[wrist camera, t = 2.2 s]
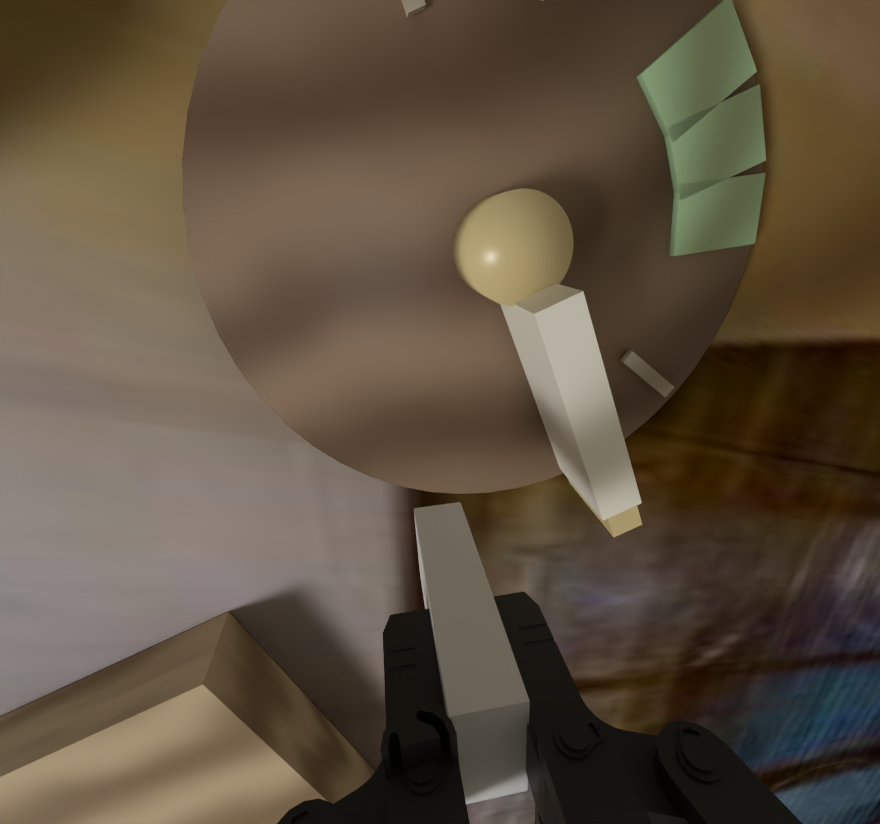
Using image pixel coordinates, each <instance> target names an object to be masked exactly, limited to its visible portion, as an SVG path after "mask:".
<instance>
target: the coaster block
mask: <svg viewBox="0 0 880 824" xmlns="http://www.w3.org/2000/svg"><path fill="white" fill-rule="evenodd" d="M374 773H375V771H374V769H373V768H372V767H371V766H370V765H369V764H368V763H367V762H366V761H365V760H364V759H363V758H362V756H361V755H360V754H359V753H358V752H357V751H356V750H355V749H354V748H353V747H352V746H351V744H350V743H349V742H348V741H347V740H346V739H345V738H344V737H343V736H342V735H341V734H340V732H339V731H338V730H337V729H336V728H335V727H334V726H333V725H332V724H331V723H330V722H329V720H328V719H327V718H326V717H325V716H324V715H323V714H322V713H321V712H320V711H319V710H318V708H317V707H316V706H315V705H314V704H313V703H312V702H311V701H310V700H309V699H308V698H307V697H306V695H305V694H304V693H303V692H302V691H301V690H300V689H299V688H298V687H297V686H296V685H295V683H294V682H293V681H292V680H291V679H290V678H289V677H288V676H287V675H286V674H285V673H284V671H283V670H282V669H281V668H280V667H279V666H278V665H277V664H276V663H275V662H274V661H273V659H272V658H271V657H270V656H269V655H268V654H267V653H266V652H265V651H264V650H263V649H262V647H261V646H260V645H259V644H258V643H257V642H256V641H255V640H254V639H253V638H252V637H251V635H250V634H249V633H248V632H247V631H246V630H245V629H244V628H243V627H242V626H241V625H240V624H239V622H238V621H237V620H236V619H235V618H234V617H233V616H232V615H231V614H230V613H229V612H227V613H224V614H222V615H220V616H218V617H216V618H214V619H211V620H209V621H207V622H205V623H203V624H201V625H198V626H196V627H194V628H192V629H190V630H187V631H185V632H183V633H181V634H179V635H177V636H174V637H172V638H170V639H168V640H166V641H164V642H161V643H159V644H157V645H155V646H153V647H151V648H148V649H146V650H144V651H142V652H140V653H137V654H135V655H133V656H131V657H129V658H127V659H124V660H122V661H120V662H118V663H116V664H114V665H111V666H109V667H107V668H105V669H103V670H101V671H98V672H96V673H94V674H92V675H90V676H87V677H85V678H83V679H81V680H79V681H77V682H74V683H72V684H70V685H68V686H66V687H64V688H61V689H59V690H57V691H55V692H53V693H51V694H48V695H46V696H44V697H42V698H40V699H37V700H35V701H33V702H31V703H29V704H27V705H24V706H22V707H20V708H18V709H16V710H14V711H11V712H9V713H7V714H5V715H3V716H1V717H0V824H277V823H278V822H279V821H280V819H281V818H282V817H283V816H284V815H285V814H286V813H287V812H288V810H290V809H292V808H293V807H295V806H296V805H298V804H300V803H301V802H303V801H307V800H313V799H322V800H325V801H328V802H331V803H333V804H334V803H335V802H337V801H338V800H340V799H342V798H343V797H345V796H347V795H348V794H350V793H351V792H353V791H355V790H356V789H358V788H359V787H360V786H362V785H363V784H364V783H365V782H367V781H368V780H369V779H370V777H371V776H372V775H373V774H374Z"/></svg>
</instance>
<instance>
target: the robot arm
mask: <svg viewBox="0 0 880 824" xmlns="http://www.w3.org/2000/svg"><path fill="white" fill-rule="evenodd" d="M414 516H415V526H416V536H417V547H418V557H419V567H420V577H421V584H422V590H423V596H424V603H425V609H423V610H417V611H411V612H405V613H399V614H393V615H390V617H389V620H388V622H387V624H386V627H385V629H384V632H383V650H384V672H385V674H384V676H385V702H386V729H385V731H384V733H383V738H382V744H381V754H382V761H381V763H380V765H379V766H378V768H377V770H376V771H375V773H374V774H373V775H372V776H371V777H370V779H369V780H368V781H367V782H365V783H364V784H363V785H362V786H360V787H359V788H358V789H356V790H355V791H353V792H351V793H350V794H348V795H347V796H345V797H343V798H342V799H340V800H338V801H337V802H335V803H334V804H333V803H331V802H328V801H325V800H322V799H313V800H307V801H303V802H301V803H300V804H298V805H296V806H295V807H293V808H292V809H290V810H288V812H287V813H286V814H285V815H284V816H283V817H282V818H281V819H280V821H279V822H278V823H277V824H469V818H468V813H467V807H466V804H469V803H474V802H478V801H483V800H487V799H492V798H496V797H501V796H505V795H510V794H515V793H519V792H524V791H527V785H528V780H529V784H530V787H531V790H532V794H533V797H534V800H535V804H536V805H535V824H802V823H801V822H800V821H799V820H798V819H797V818H796V817H795V816H794V814H793V813H792V812H791V811H790V810H789V809H788V808H787V807H786V806H785V805H784V804H783V803H782V802H781V801H780V800H779V799H778V798H777V797H776V796H775V795H774V794H773V793H772V792H771V790H770V789H769V788H768V787H767V786H766V785H765V784H764V783H763V782H762V781H761V780H760V779H759V778H758V777H757V776H756V775H755V774H754V773H753V772H752V771H751V770H750V769H749V767H748V766H747V765H746V764H745V763H744V762H743V761H742V760H741V759H740V758H739V757H738V756H737V755H736V754H735V753H734V752H733V751H732V750H731V749H730V748H729V747H728V746H727V745H726V743H725V742H723V741H722V740H721V739H720V738H718V737H717V736H716V735H715V734H714V733H712V732H711V731H710V730H708V729H706V728H704V727H702V726H700V725H697V724H695V723H691V722H685V721H676V722H673V723H669V724H667V725H666V726H665V727H664V728H663V729H662V730H661V731H660V732H659V736H655V735H649V734H643V733H636V732H630V731H625V730H621V729H618V728H614V727H612V726H610V725H608V724H606V723H604V722H603V721H602V720H600V719H599V718H598V717H596V716H595V715H594V714H593V713H592V712H591V711H590V710H589V708H588V707H587V706H586V705H585V703H584V701H583V700H582V698H581V696H580V694H579V692H578V690H577V687H576V685H575V683H574V681H573V679H572V677H571V675H570V672H569V670H568V668H567V666H566V664H565V662H564V659H563V657H562V655H561V653H560V651H559V649H558V646H557V644H556V642H554V638H553V636H552V633H551V631H550V629H549V627H547V623H546V620H545V618H544V616H543V614H542V612H541V610H540V607H539V605H538V604H536V603H535V602H534V601H533V600H532V599H531V598H530V597H529V596H528V595H527V594H526V593H525V592H519V593H513V594H507V595H501V596H495V597H493V594H492V592H491V589H490V586H489V583H488V580H487V577H486V574H485V571H484V569H483V566H482V563H481V560H480V557H479V554H478V551H477V548H476V546H475V543H474V540H473V537H472V534H471V531H470V528H469V526H468V523H467V520H466V517H465V514H464V511H463V508H462V505H461V503H460V502H458V503H451V504H444V505H436V506H429V507H422V508H415V509H414Z"/></svg>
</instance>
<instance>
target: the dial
mask: <svg viewBox="0 0 880 824" xmlns="http://www.w3.org/2000/svg"><path fill="white" fill-rule="evenodd" d="M756 72H757V69H756V66H755V64H754V61H753V58H752V55H751V52H750V49H749V47H748V44H747V41H746V38H745V35H744V33H743V30H742V27H741V24H740V21H739V18H738V16H737V13H736V10H735V7H734V4H733V2H732V0H227V1H226V3H225V5H224V6H223V8H222V10H221V11H220V13H219V16H218V18H217V21H216V23H215V26H214V28H213V31H212V33H211V36H210V38H209V41H208V43H207V45H206V48H205V50H204V53H203V55H202V58H201V60H200V64H199V68H198V72H197V76H196V80H195V84H194V88H193V92H192V96H191V100H190V104H189V108H188V113H187V122H186V132H185V141H184V150H183V159H182V167H183V209H184V215H185V222H186V228H187V235H188V242H189V248H190V254H191V258H192V261H193V265H194V268H195V272H196V275H197V279H198V282H199V286H200V289H201V293H202V296H203V299H204V301H205V303H206V306H207V308H208V310H209V313H210V315H211V318H212V320H213V322H214V325H215V327H216V329H217V332H218V334H219V336H220V338H221V339H222V341H223V343H224V344H225V346H226V348H227V350H228V351H229V353H230V355H231V356H232V358H233V360H234V362H235V363H236V365H237V367H238V369H239V370H240V371H241V373H242V374H243V375H244V377H245V378H246V379H247V380H248V382H249V383H250V384H251V386H252V387H253V388H254V390H255V391H256V392H257V394H258V395H259V396H260V398H261V399H262V400H263V401H264V402H265V403H266V404H267V405H268V406H269V407H270V408H271V409H272V410H273V411H274V412H275V413H276V414H277V415H278V416H279V417H280V418H281V419H282V420H283V421H284V422H285V423H286V424H287V425H288V426H289V427H290V428H292V429H293V430H294V431H295V432H297V433H298V434H299V435H300V436H302V437H303V438H304V439H305V440H307V441H308V442H309V443H310V444H312V445H313V446H314V447H316V448H317V449H319V450H321V451H322V452H324V453H326V454H327V455H329V456H330V457H332V458H334V459H335V460H337V461H339V462H340V463H342V464H344V465H346V466H348V467H351V468H353V469H355V470H357V471H359V472H362V473H364V474H366V475H368V476H370V477H373V478H377V479H380V480H383V481H386V482H389V483H392V484H395V485H398V486H403V487H408V488H413V489H418V490H424V491H429V492H441V493H455V494H466V493H489V492H495V491H501V490H508V489H514V488H519V487H523V486H527V485H530V484H534V483H537V482H541V481H545V480H548V479H550V478H553V477H555V476H558V475H560V474H563V472H562V470H561V469H560V468H559V465H558V462H557V459H556V457H555V454H554V451H553V448H552V446H551V443H550V440H549V437H548V435H547V432H546V429H545V426H544V424H543V421H542V418H541V415H540V413H539V410H538V407H537V404H536V401H535V399H534V396H533V393H532V390H531V388H530V385H529V382H528V379H527V377H526V374H525V371H524V368H523V366H522V363H521V360H520V357H519V355H518V352H517V349H516V346H515V344H514V341H513V338H512V335H511V333H510V330H509V327H508V324H507V321H506V319H505V316H504V313H503V310H502V308H501V305H500V304H499V303H497V302H495V301H493V300H491V299H489V298H487V297H485V296H483V295H482V294H480V293H478V292H476V291H475V290H473V289H472V288H470V287H469V286H468V285H467V284H466V283H465V282H464V281H463V280H462V278H461V277H460V275H459V274H458V271H457V269H456V267H455V264H454V260H453V252H452V244H453V237H454V233H455V230H456V227H457V225H458V223H459V221H460V219H461V217H462V216H463V215H464V213H465V212H466V211H467V210H468V209H469V208H470V207H471V206H472V205H473V204H475V203H476V202H477V201H479V200H481V199H483V198H485V197H488V196H492V195H495V194H499V193H503V192H507V191H510V190H515V189H523V188H525V189H534V190H538V191H541V192H543V193H545V194H547V195H549V196H550V197H552V198H553V199H554V200H556V201H557V202H558V203H559V204H560V206H561V207H562V208H563V210H564V211H565V213H566V214H567V216H568V218H569V221H570V224H571V227H572V232H573V241H574V244H573V254H572V259H571V263H570V266H569V268H568V271H567V273H566V275H565V276H564V278H563V280H562V281H561V283H560V285H563V286H567V287H571V288H574V289H578V290H581V291H583V292H584V295H585V299H586V303H587V306H588V310H589V314H590V317H591V321H592V324H593V328H594V332H595V335H596V339H597V343H598V346H599V350H600V353H601V357H602V361H603V364H604V368H605V372H606V375H607V379H608V383H609V386H610V390H611V393H612V397H613V401H614V404H615V408H616V412H617V415H618V419H619V422H620V426H621V430H622V433H623V437H624V439H626V438H627V437H628V436H629V435H630V434H632V433H633V432H634V431H635V430H637V429H638V428H639V427H640V426H641V425H643V424H644V423H645V422H646V421H647V420H649V419H650V418H651V417H652V416H653V415H654V414H655V413H656V412H657V411H658V410H659V409H660V408H661V407H662V406H663V405H664V404H665V403H666V402H667V401H668V400H669V399H670V398H671V397H672V396H673V394H674V393H675V392H676V391H677V390H678V388H679V387H680V386H681V385H682V383H683V382H684V381H685V380H686V378H687V377H688V376H689V375H690V374H691V372H692V371H693V370H694V368H695V367H696V365H697V364H698V362H699V361H700V359H701V358H702V356H703V355H704V353H705V352H706V350H707V349H708V347H709V346H710V344H711V343H712V341H713V339H714V337H715V335H716V333H717V331H718V329H719V328H720V326H721V324H722V322H723V320H724V318H725V316H726V314H727V312H728V310H729V308H730V305H731V303H732V301H733V298H734V296H735V293H736V291H737V288H738V286H739V283H740V281H741V278H742V275H743V272H744V269H745V265H746V262H747V258H748V255H749V252H750V248H751V245H752V244H755V242H756V235H757V228H758V222H759V215H760V208H761V202H762V195H763V188H764V182H765V175H766V173H762V167H763V162H764V161H766V151H765V139H764V127H763V115H762V103H761V91H760V84H758V85H756V81H755V77H754V73H756Z"/></svg>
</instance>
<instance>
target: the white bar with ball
mask: <svg viewBox="0 0 880 824" xmlns="http://www.w3.org/2000/svg"><path fill="white" fill-rule="evenodd" d="M573 244H574V241H573V232H572V227H571V224H570V221H569V218H568V216H567V214H566V213H565V211H564V210H563V208H562V207H561V206H560V204H559V203H558V202H557V201H556V200H554V199H553V198H552V197H550V196H549V195H547V194H545V193H543V192H541V191H538V190H534V189H525V188H523V189H515V190H510V191H507V192H503V193H499V194H495V195H492V196H488V197H485V198H483V199H481V200H479V201H477V202H476V203H475V204H473V205H472V206H471V207H470V208H469V209H468V210H467V211H466V212H465V213H464V215H463V216H462V217H461V219H460V221H459V223H458V225H457V227H456V230H455V233H454V237H453V244H452V252H453V260H454V264H455V267H456V269H457V271H458V274H459V275H460V277H461V278H462V280H463V281H464V282H465V283H466V284H467V285H468V286H469V287H470V288H472V289H473V290H475V291H476V292H478V293H480V294H482V295H483V296H485V297H487V298H489V299H491V300H493V301H495V302H497V303H499V304H500V305H501V308H502V310H503V313H504V316H505V319H506V321H507V324H508V327H509V330H510V333H511V335H512V338H513V341H514V344H515V346H516V349H517V352H518V355H519V357H520V360H521V363H522V366H523V368H524V371H525V374H526V377H527V379H528V382H529V385H530V388H531V390H532V393H533V396H534V399H535V401H536V404H537V407H538V410H539V413H540V415H541V418H542V421H543V424H544V426H545V429H546V432H547V435H548V437H549V440H550V443H551V446H552V448H553V451H554V454H555V457H556V459H557V462H558V465H559V468H560V469H561V470H562V472H563V473H564V474H565V475H566V477H567V478H568V480H569V483H570V484H571V485H572V487H573V488H574V489H575V490H576V491H577V493H578V494H579V495H580V496H581V498H582V499H583V500H584V501H585V503H586V504H587V505H588V506H589V507H590V509H591V510H592V511H593V512H594V514H595V515H596V516H597V517H598V519H599V520H600V521H601V522H602V524H603V525H604V526H605V527H606V528H607V530H608V531H609V532H610V533H611V535H612V536H613V537H616V536H618V535H620V534H622V533H625V532H627V531H629V530H631V529H633V528H636V527H638V526H640V525H642V522H641V518H640V515H639V511H638V508H637V505H638V504H641V503H642V502H641V499H640V495H639V491H638V488H637V484H636V480H635V477H634V473H633V470H632V466H631V462H630V459H629V455H628V451H627V448H626V444H625V441H624V437H623V433H622V430H621V426H620V422H619V419H618V415H617V412H616V408H615V404H614V401H613V397H612V393H611V390H610V386H609V383H608V379H607V375H606V372H605V368H604V364H603V361H602V357H601V353H600V350H599V346H598V343H597V339H596V335H595V332H594V328H593V324H592V321H591V317H590V314H589V310H588V306H587V303H586V299H585V295H584V292H583V291H581V290H578V289H574V288H571V287H567V286H563V285H560V283H561V281H562V280H563V278H564V276H565V275H566V273H567V271H568V268H569V266H570V263H571V259H572V254H573Z"/></svg>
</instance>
